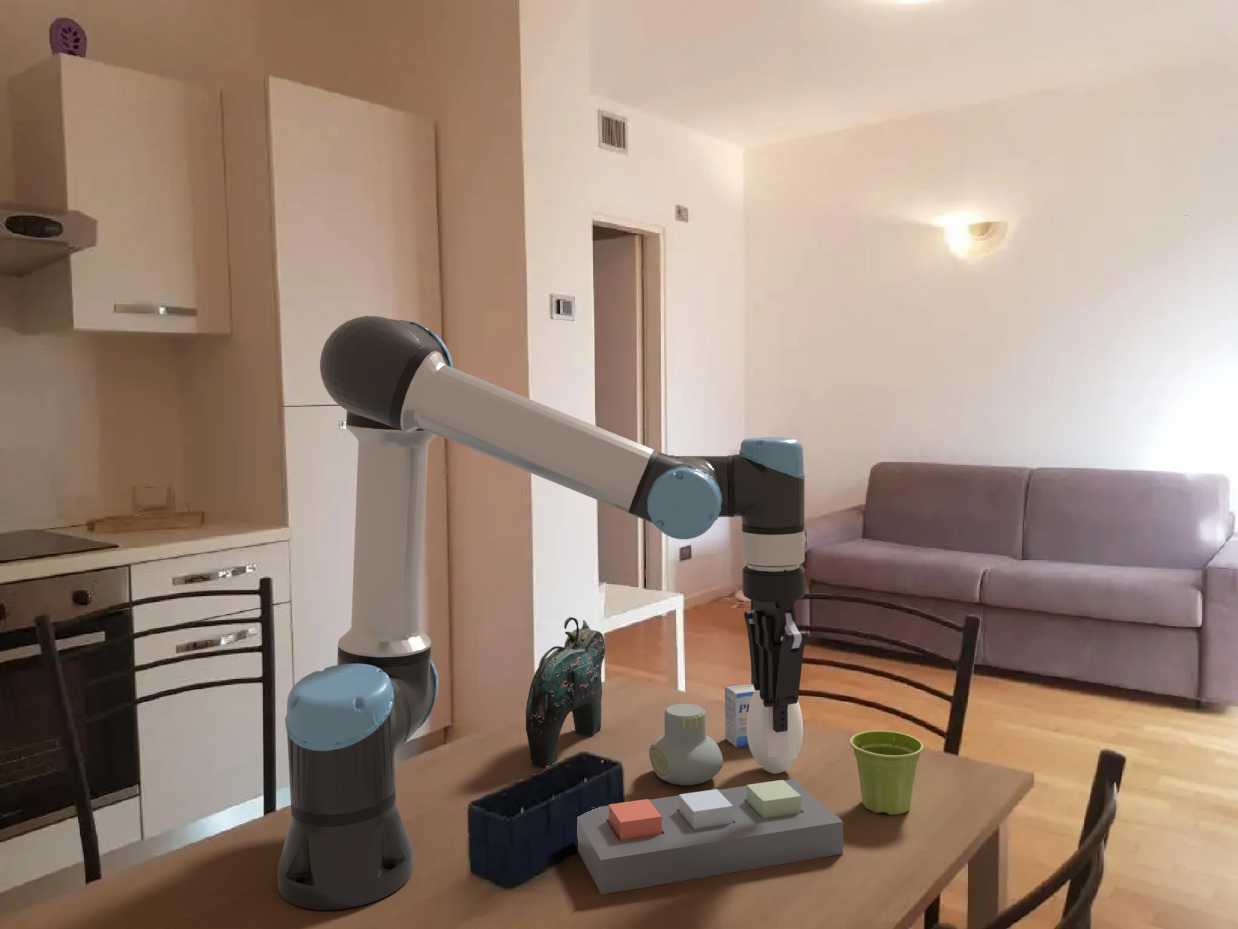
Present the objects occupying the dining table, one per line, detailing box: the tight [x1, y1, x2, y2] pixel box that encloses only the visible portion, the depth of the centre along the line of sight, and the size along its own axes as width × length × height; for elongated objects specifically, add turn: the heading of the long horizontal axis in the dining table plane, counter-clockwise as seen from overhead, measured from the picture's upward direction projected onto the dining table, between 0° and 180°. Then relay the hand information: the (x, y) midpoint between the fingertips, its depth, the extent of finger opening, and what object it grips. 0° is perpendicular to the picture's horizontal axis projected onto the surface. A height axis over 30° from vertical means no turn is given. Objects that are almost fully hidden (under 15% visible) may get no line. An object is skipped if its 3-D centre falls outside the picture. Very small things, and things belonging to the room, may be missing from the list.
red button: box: [608, 798, 662, 841], centre depth 115 cm, size 5×5×3 cm
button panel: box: [577, 779, 844, 895], centre depth 118 cm, size 30×13×4 cm, turn 106°
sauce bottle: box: [747, 690, 804, 775], centre depth 140 cm, size 8×8×18 cm
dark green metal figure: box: [525, 616, 606, 768], centre depth 151 cm, size 20×6×20 cm, turn 154°
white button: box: [678, 788, 733, 829], centre depth 118 cm, size 5×5×3 cm
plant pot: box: [849, 730, 924, 815], centre depth 129 cm, size 9×9×9 cm
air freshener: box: [648, 703, 724, 786], centre depth 139 cm, size 11×8×10 cm
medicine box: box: [724, 683, 755, 749], centre depth 153 cm, size 8×4×9 cm, turn 106°
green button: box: [746, 779, 801, 819], centre depth 120 cm, size 5×5×3 cm
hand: (775, 753), depth 120 cm, fingers closed
